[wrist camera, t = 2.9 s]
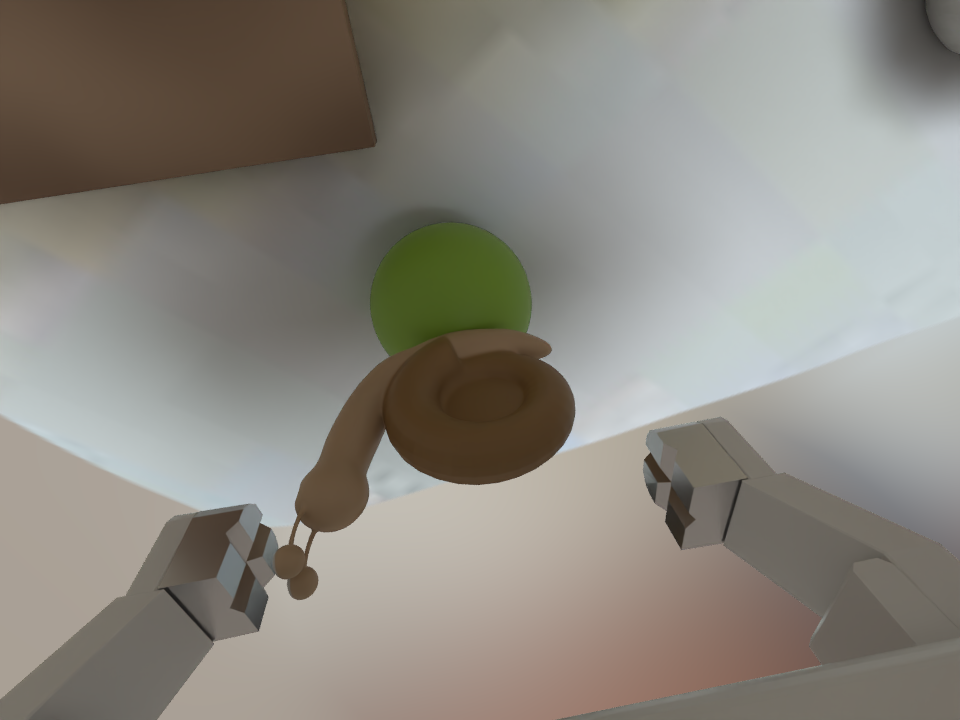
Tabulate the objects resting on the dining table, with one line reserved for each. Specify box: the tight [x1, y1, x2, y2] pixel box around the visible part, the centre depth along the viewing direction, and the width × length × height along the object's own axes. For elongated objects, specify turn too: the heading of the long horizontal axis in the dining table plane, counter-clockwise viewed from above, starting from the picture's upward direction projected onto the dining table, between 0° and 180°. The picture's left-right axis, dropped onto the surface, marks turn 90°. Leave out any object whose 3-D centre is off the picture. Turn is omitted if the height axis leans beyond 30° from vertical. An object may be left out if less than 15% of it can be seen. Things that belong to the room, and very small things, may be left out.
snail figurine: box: [273, 222, 575, 600], centre depth 13 cm, size 5×6×12 cm
